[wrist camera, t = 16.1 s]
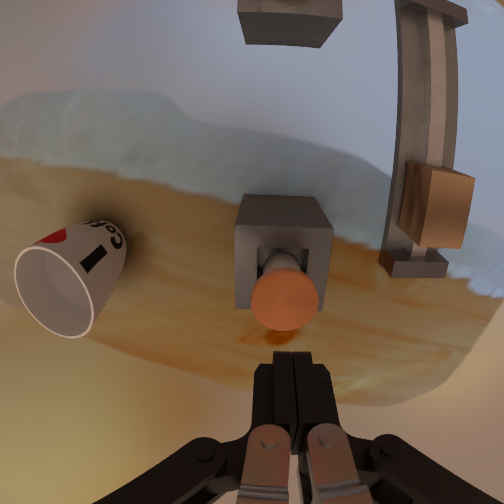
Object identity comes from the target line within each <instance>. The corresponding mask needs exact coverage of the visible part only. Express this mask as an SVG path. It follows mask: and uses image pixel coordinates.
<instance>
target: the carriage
mask: <svg viewBox="0 0 504 504" xmlns="http://www.w3.org/2000/svg"><path fill="white" fill-rule="evenodd" d="M474 182H475V178H473V177H471V176H468V175H465V174H463V173H460V172H457V171H455V170H452V169H449V168H445V167H441V168H439V167H434V166H428V165H424V164H421V163H417V162H411V161H408V162H407V171H406V180H405V187H404V195H403V202H402V208H401V215H400V221H399V226H398V228H400V229H401V230H402V231H403V232H404V233H405V234H406V235H407V236H408V237H409V238H410V239H411V240H412V241H414V242H415V243H416V244H417V245H418V246H419V247H432V248H452V249H461V246H462V242H463V238H464V234H465V230H466V225H467V221H468V216H469V211H470V206H471V200H472V194H473V189H474Z"/></svg>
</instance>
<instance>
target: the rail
mask: <svg viewBox="0 0 504 504" xmlns="http://www.w3.org/2000/svg"><path fill="white" fill-rule="evenodd" d="M394 2H395V14H396V27H397V48H398V106H397V127H396V141H395V154H394V164H393V174H392V182H391V190H390V198H389V205H388V212H387V219H386V225H385V231H384V237H383V242H382V248H381V253H380V258H379V264H380V265H381V267H384V269H385V270H386V271H387V273H388V274H389V276H390V277H391V278H445V275H446V271H447V268H448V264H449V262H448V261H447V260H446V259H445V258H444V257H442V256H441V255H440V254H439V253H438V248H432V247H419V246H418V245H417V244H416V243H415V242H414V241H412V240H411V239H410V238H409V237H408V236H407V235H406V234H405V233H404V232H403V231H402V230H401V229H400V228H398V226H399V221H400V215H401V208H402V202H403V195H404V187H405V180H406V171H407V162H408V161H411V162H417V163H421V164H424V165H428V166H434V167H439V168H441V167H445V168H449V169H452V170H453V164H454V156H455V145H456V133H457V115H458V64H457V47H456V36H455V28H457V27H460V26H462V25H465V24H468V16H467V10H466V9H465V8H463V7H461V6H459V5H457V4H454V3H452V2H450V1H447V0H394Z"/></svg>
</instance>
